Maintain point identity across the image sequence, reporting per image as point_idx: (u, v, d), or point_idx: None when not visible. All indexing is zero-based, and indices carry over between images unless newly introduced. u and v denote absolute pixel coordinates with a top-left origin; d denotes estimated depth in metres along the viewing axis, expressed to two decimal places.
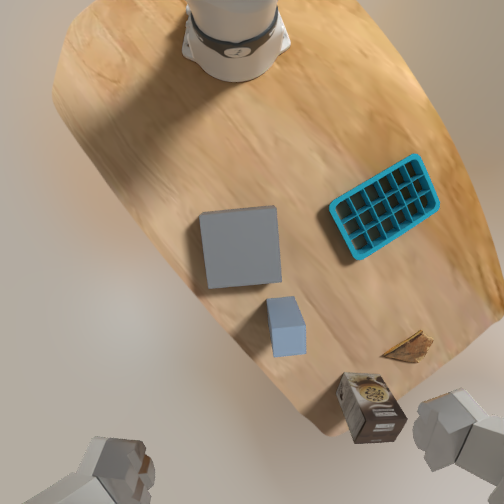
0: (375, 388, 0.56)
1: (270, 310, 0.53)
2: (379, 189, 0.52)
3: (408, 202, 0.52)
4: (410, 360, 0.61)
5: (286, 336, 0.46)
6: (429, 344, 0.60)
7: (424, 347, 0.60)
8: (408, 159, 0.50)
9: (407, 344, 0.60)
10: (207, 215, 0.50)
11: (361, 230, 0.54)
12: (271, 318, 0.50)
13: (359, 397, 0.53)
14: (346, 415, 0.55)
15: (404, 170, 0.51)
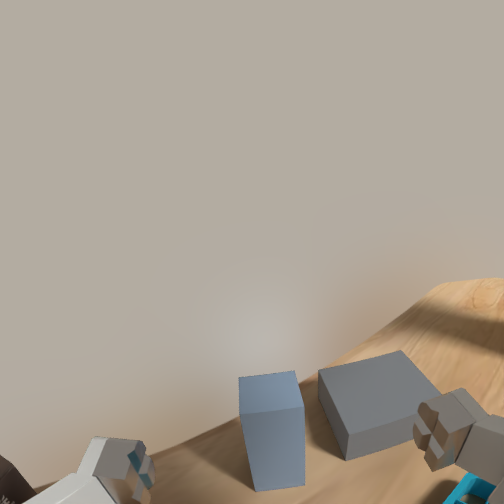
0: None
1: None
2: None
3: None
4: None
5: (278, 387, 0.25)
6: None
7: None
8: None
9: None
10: (404, 355, 0.38)
11: None
12: None
13: None
14: None
15: None
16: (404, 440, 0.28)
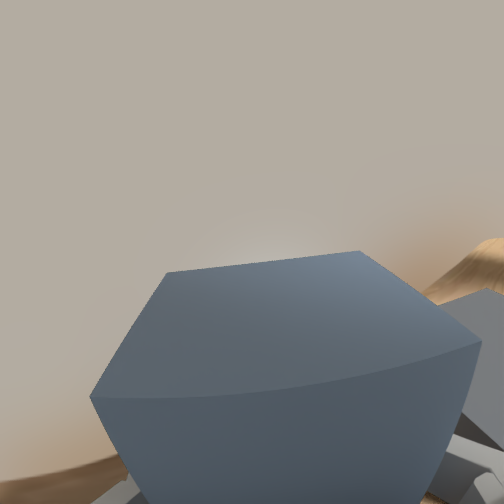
0: None
1: None
2: None
3: None
4: None
5: (319, 285, 0.06)
6: None
7: None
8: None
9: None
10: (496, 294, 0.19)
11: None
12: None
13: None
14: None
15: None
16: None
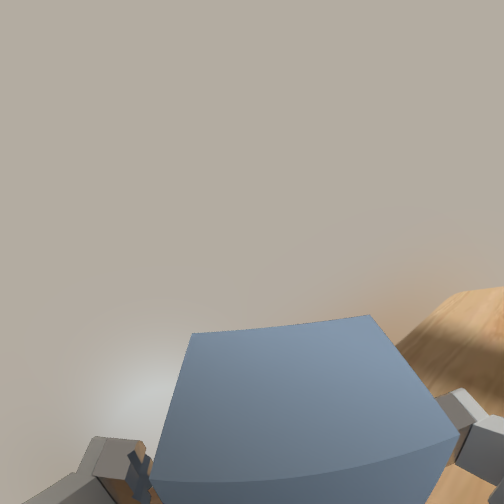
0: None
1: None
2: None
3: None
4: None
5: (332, 363, 0.07)
6: None
7: None
8: None
9: None
10: None
11: None
12: None
13: None
14: None
15: None
16: None
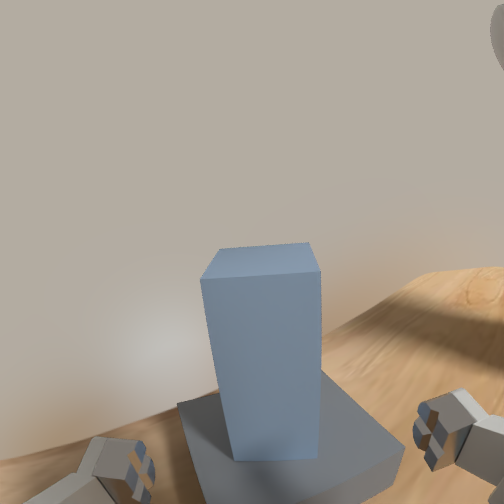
0: None
1: None
2: None
3: None
4: None
5: (279, 254, 0.16)
6: None
7: None
8: None
9: None
10: None
11: None
12: None
13: None
14: None
15: None
16: None
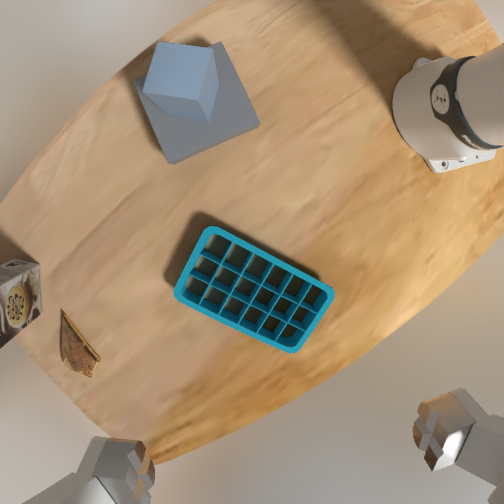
0: (23, 307, 0.39)
1: (216, 73, 0.30)
2: (266, 272, 0.44)
3: (274, 314, 0.45)
4: (63, 351, 0.46)
5: (188, 66, 0.23)
6: (85, 373, 0.47)
7: (81, 367, 0.47)
8: (321, 286, 0.43)
9: (81, 344, 0.46)
10: (224, 50, 0.34)
11: (208, 280, 0.44)
12: (214, 63, 0.27)
13: (9, 285, 0.35)
14: None
15: (306, 288, 0.44)
16: (223, 141, 0.41)
